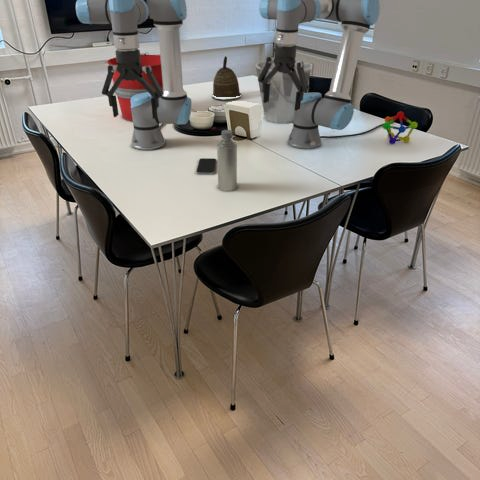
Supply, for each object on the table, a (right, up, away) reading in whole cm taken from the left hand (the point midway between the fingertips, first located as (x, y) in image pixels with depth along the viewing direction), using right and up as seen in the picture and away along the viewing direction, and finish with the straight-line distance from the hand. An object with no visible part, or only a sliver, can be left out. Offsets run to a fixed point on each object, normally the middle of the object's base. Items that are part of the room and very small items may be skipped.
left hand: (135, 116), depth 150 cm
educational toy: (+110, +4, +61) cm, 125 cm away
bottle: (+31, -22, +19) cm, 42 cm away
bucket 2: (+58, +25, +94) cm, 113 cm away
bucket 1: (-18, +28, +98) cm, 103 cm away
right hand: (+51, +8, +15) cm, 54 cm away
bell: (+27, +49, +132) cm, 143 cm away
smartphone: (+22, -11, +35) cm, 43 cm away
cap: (+31, -4, +7) cm, 32 cm away
